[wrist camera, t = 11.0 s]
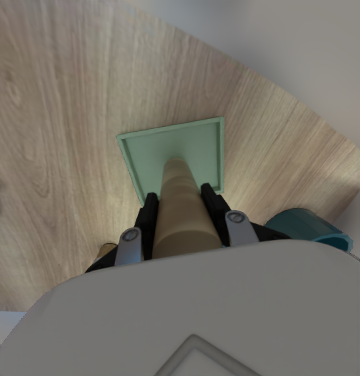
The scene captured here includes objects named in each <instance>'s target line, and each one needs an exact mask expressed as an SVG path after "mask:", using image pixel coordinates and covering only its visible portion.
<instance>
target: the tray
mask: <svg viewBox="0 0 360 376" xmlns="http://www.w3.org/2000/svg"><path fill="white" fill-rule="evenodd" d="M116 138H117V141H118V143H119V146H120V149H121V152H122V154H123V157H124V160H125V163H126V165H127V168H128V171H129V174H130V176H131V179H132V182H133V184H134V187H135V190H136V193H137V195H138V198H139V201H140V204H141V206H144V203H145V200H146V197H147V193H150V192H154V193H157V197H158V200H159V198H160V190H161V183H162V175H163V168H164V165H165V163H166V162H167V161H168V160H170V159H172V158H181V159H183V160H185V161H186V162H187V163H188V165H189V168H190V170H191V172H192V175H193V177H194V179H195V182H196V184H197V186H198V189H199V191H200V193H201V185H202V184H203V183H208V182H209V184H210V185H211V187H212V188H213V190H214V192H215V193H216V194H218V193H224V116H221V117H214V118H209V119H203V120H198V121H192V122H186V123H181V124H175V125H169V126H164V127H158V128H153V129H147V130H141V131H136V132H130V133H124V134H119V135H116Z"/></svg>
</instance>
